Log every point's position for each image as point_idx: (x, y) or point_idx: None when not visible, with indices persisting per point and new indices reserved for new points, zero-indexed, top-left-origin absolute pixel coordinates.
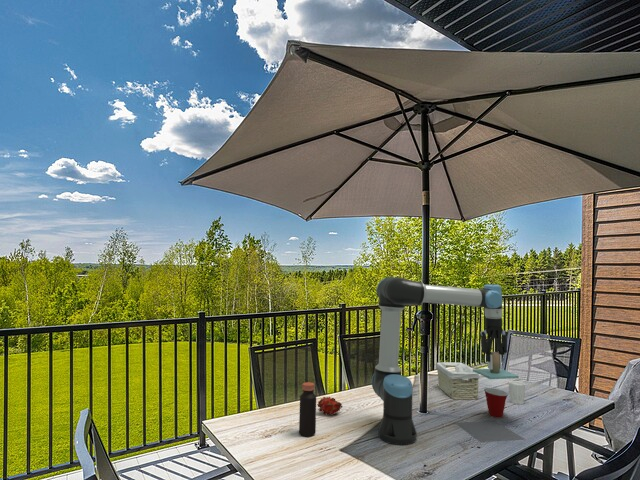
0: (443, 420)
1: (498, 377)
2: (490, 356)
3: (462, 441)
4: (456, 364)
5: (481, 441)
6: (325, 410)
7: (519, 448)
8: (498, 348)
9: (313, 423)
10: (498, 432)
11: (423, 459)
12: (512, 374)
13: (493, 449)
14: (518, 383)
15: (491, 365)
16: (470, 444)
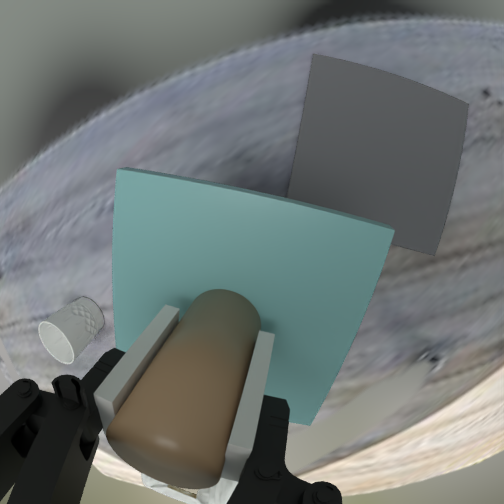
0: (439, 289)
1: (311, 205)
2: (253, 437)
3: (501, 141)
4: (162, 488)
5: (464, 105)
6: None
7: (382, 26)
8: (77, 473)
9: None
10: (362, 127)
11: None
12: (132, 218)
13: (459, 60)
14: (50, 344)
15: (266, 356)
16: (495, 115)
